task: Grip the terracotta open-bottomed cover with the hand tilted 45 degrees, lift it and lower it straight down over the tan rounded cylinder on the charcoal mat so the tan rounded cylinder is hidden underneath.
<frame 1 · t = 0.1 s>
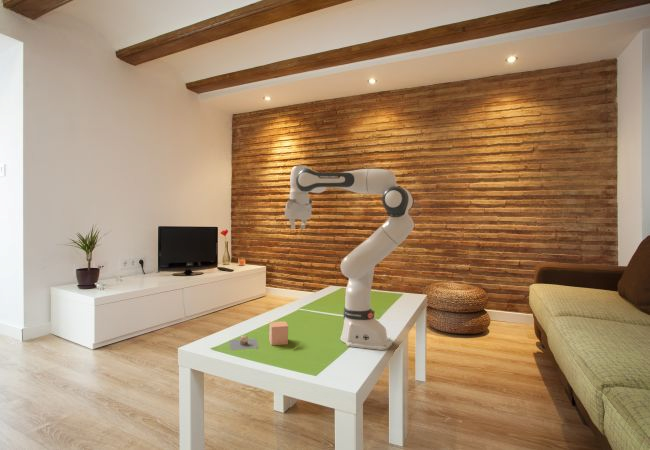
hand: (298, 229, 167), 48 cm above the table, tool pointing down, fingers open, 8 cm apart
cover: (278, 342, 148), on the table
mat: (243, 345, 144), on the table
tan rounded cylinder: (243, 344, 144), resting on mat
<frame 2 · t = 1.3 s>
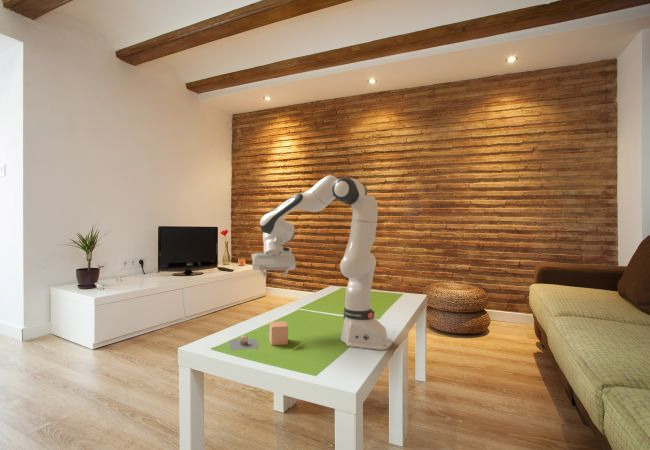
hand: (275, 276, 161), 26 cm above the table, tool tilted 45°, fingers open, 8 cm apart
nothing on the table moved.
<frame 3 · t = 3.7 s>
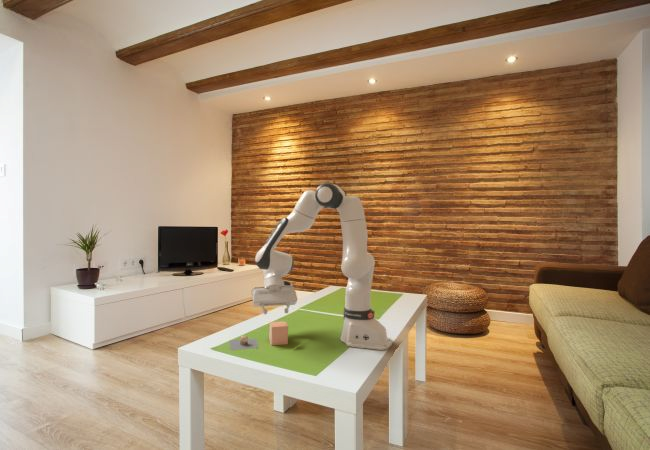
hand: (276, 313, 156), 10 cm above the table, tool tilted 45°, fingers open, 8 cm apart
nothing on the table moved.
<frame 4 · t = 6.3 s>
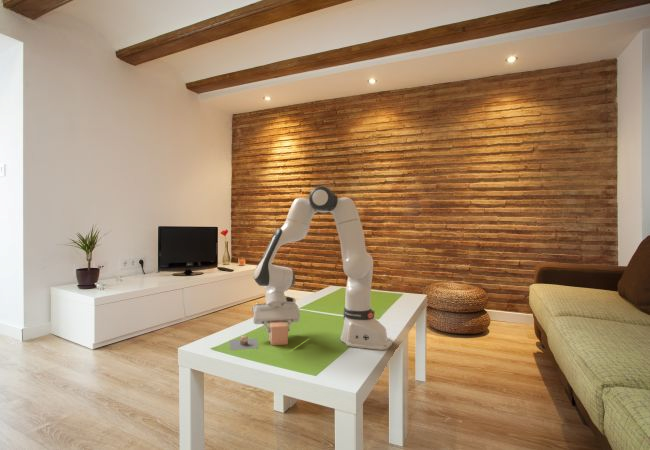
hand: (278, 331, 149), 5 cm above the table, tool tilted 45°, fingers closed on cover, 7 cm apart
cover: (278, 342, 148), on the table, touching gripper
everything else where it was.
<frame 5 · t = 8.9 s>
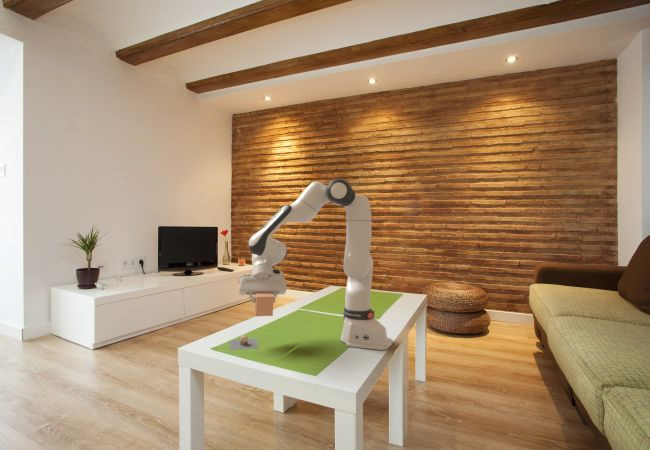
hand: (263, 302, 147), 17 cm above the table, tool tilted 45°, fingers closed on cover, 7 cm apart
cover: (263, 313, 147), point 13 cm above the table, touching gripper
everything else where it was.
when the fingers open (6 cm above the table, at t = 11.9 s): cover drops 1 cm, resting on mat.
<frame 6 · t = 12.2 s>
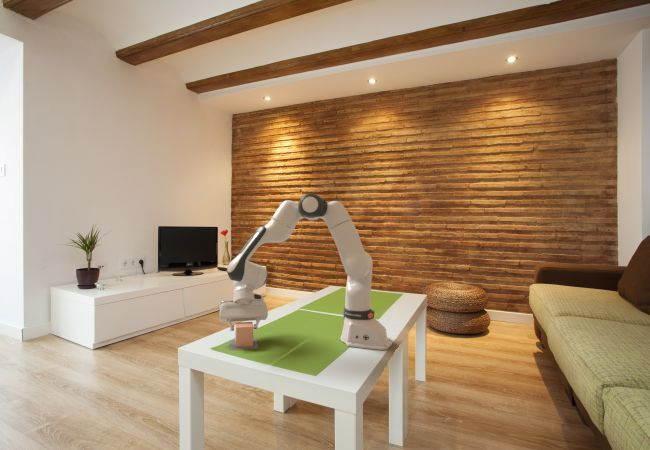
hand: (244, 329, 145), 6 cm above the table, tool tilted 45°, fingers open, 8 cm apart
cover: (244, 343, 145), resting on mat
everything else where it was.
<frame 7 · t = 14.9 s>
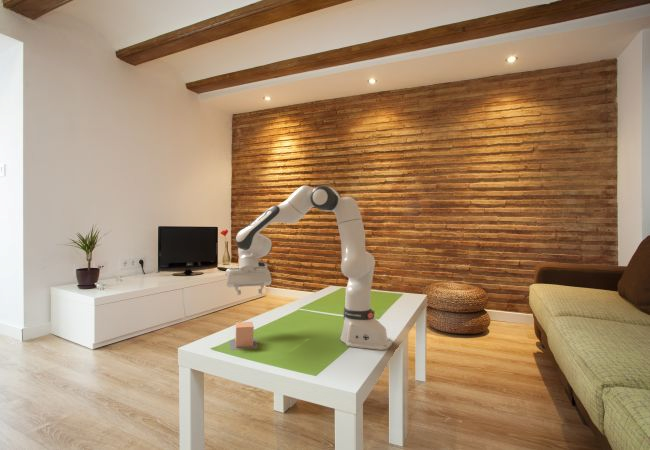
hand: (249, 294, 159), 18 cm above the table, tool tilted 40°, fingers open, 8 cm apart
nothing on the table moved.
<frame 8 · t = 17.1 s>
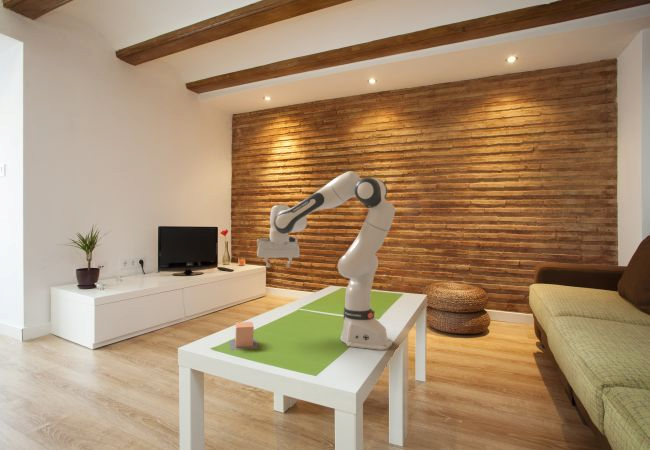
hand: (278, 266, 169), 29 cm above the table, tool pointing down, fingers open, 8 cm apart
nothing on the table moved.
at the end: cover 0.1 cm from the tan rounded cylinder (horizontally); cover point 0.5 cm above the table; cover tilted 0° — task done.
